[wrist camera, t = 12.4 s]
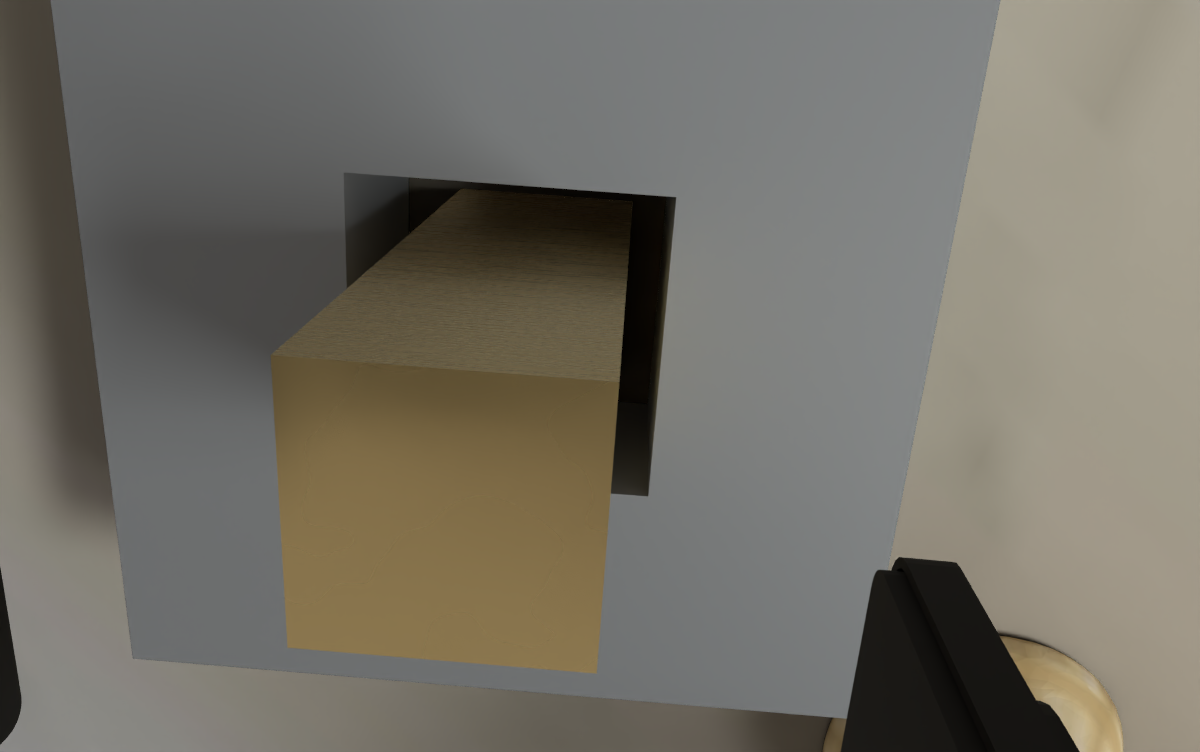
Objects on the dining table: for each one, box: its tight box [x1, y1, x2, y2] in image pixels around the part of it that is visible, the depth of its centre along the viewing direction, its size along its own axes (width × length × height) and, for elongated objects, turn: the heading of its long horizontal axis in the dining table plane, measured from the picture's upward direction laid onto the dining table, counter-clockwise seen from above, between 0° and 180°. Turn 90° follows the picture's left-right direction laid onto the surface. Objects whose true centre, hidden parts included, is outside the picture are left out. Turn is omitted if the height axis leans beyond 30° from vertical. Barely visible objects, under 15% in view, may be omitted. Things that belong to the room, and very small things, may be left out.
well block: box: [51, 0, 1000, 719], centre depth 20 cm, size 16×16×5 cm
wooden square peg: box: [271, 189, 633, 674], centre depth 17 cm, size 4×4×12 cm
